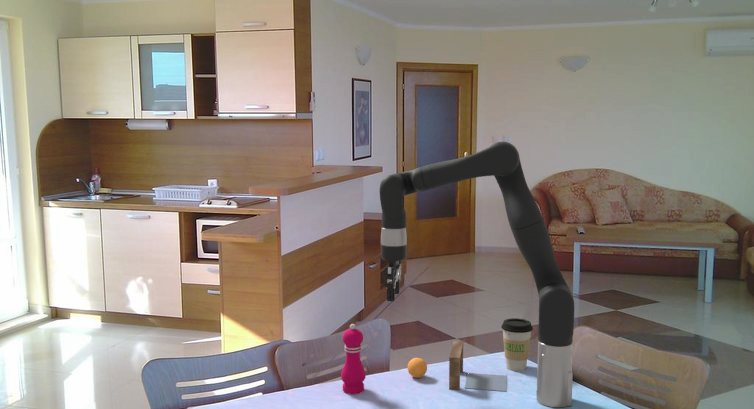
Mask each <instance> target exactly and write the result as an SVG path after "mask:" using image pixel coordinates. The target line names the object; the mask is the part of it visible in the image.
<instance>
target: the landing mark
mask: <svg viewBox="0 0 754 409" xmlns="http://www.w3.org/2000/svg"><path fill="white" fill-rule="evenodd" d="M468 373H469V374H468ZM464 384H465V385H464V389H467V390H481V391H494V392H495V391H496V392H507V375H503V374H488V373H473V372H467V374H466V379H465V383H464Z"/></svg>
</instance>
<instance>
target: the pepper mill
mask: <svg viewBox="0 0 754 409" xmlns="http://www.w3.org/2000/svg"><path fill="white" fill-rule="evenodd" d="M342 342H343V344H344V352H345V355H346V356H345V362H344V364H343V367H342V369H341V373H340V379H341V380H342V382H343V384H342V392H343V393H345V394H346V395H348V394H349V395H358V394H361V393H364V390H365V384H364V381H365V379H366V378H367V377H366V370H365V368H364V366H363V363H362V360H361V351H362V350H363V349H362V346H363V345H362V343H363V342H364V335H363V332H362V331H361V330H360V329H358V328H357V325H355V324H354V323H351V324H350V325H349V328H348V329H346V330H345V331H344V332H343V334H342Z"/></svg>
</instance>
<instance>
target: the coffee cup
mask: <svg viewBox="0 0 754 409" xmlns="http://www.w3.org/2000/svg"><path fill="white" fill-rule="evenodd" d="M501 329H502V341H503V351H504V358H505V364H506V365H505V367H506V369H507V370H508V371H509V370H510V371H513V372H522V371H525V370H526V369H527V365H528V364H527V363H528V359H529V352H530V347H531V340H532V337H531V336H532V331H533V325H532V323H531V321H530V320H527V319H524V318H518V317H517V318H513V317H512V318H507V319H504V320H503V322H502V324H501Z"/></svg>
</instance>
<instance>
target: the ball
mask: <svg viewBox="0 0 754 409" xmlns="http://www.w3.org/2000/svg"><path fill="white" fill-rule="evenodd" d="M407 371H408V374H409V375H410V376H411V377H412V378H416V379H418V378H422V377H424V376H425V375H426V373H427V371H428V365H427V363H426V361H425V360H424V359H423V358H420V357H413V358H412V359H410V361H408V364H407Z"/></svg>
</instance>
